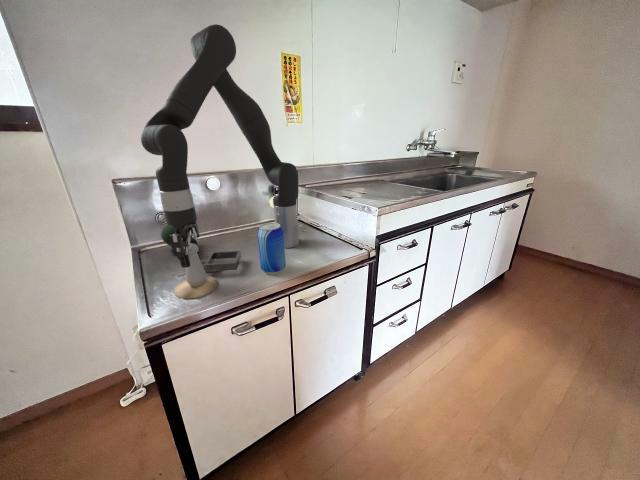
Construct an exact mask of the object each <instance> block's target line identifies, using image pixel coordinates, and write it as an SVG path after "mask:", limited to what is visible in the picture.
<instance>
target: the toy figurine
mask: <svg viewBox="0 0 640 480" xmlns="http://www.w3.org/2000/svg"><path fill="white" fill-rule="evenodd" d="M174 234H175V228H174V227H172V226H169V225H168V224H167V223H166V225H165V226H164V227H163V229H162V231H161V234H160V235H161V239H162V241H163V242H164V243H165V244H166V245H167V246H170V248H171V249H170V250H171V251H170V252H171V253H172V254H173V250H172V246H171V241H170V235H174ZM183 244H185V243H183ZM176 250H177V248H176ZM180 251H181V250H180ZM176 258H178V259H179V256H176Z"/></svg>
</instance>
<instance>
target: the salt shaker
mask: <svg viewBox="0 0 640 480" xmlns="http://www.w3.org/2000/svg"><path fill="white" fill-rule="evenodd" d="M198 247H199V245H198V246H197V245H196V244H194V243H191V244H190V247H188V256H189V260H190V267H186V268H185V280H186V281H187V282H188V284H189V285H190V286H192V287H198V286H202V285H203V284H204V283H205V280H206V277H207V276H208V275H207V272H205V270H204V268H203V265H202V263H201V261H200V260H201V259H200V257H199V254H197V252H198ZM184 248H185V247H184Z"/></svg>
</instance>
